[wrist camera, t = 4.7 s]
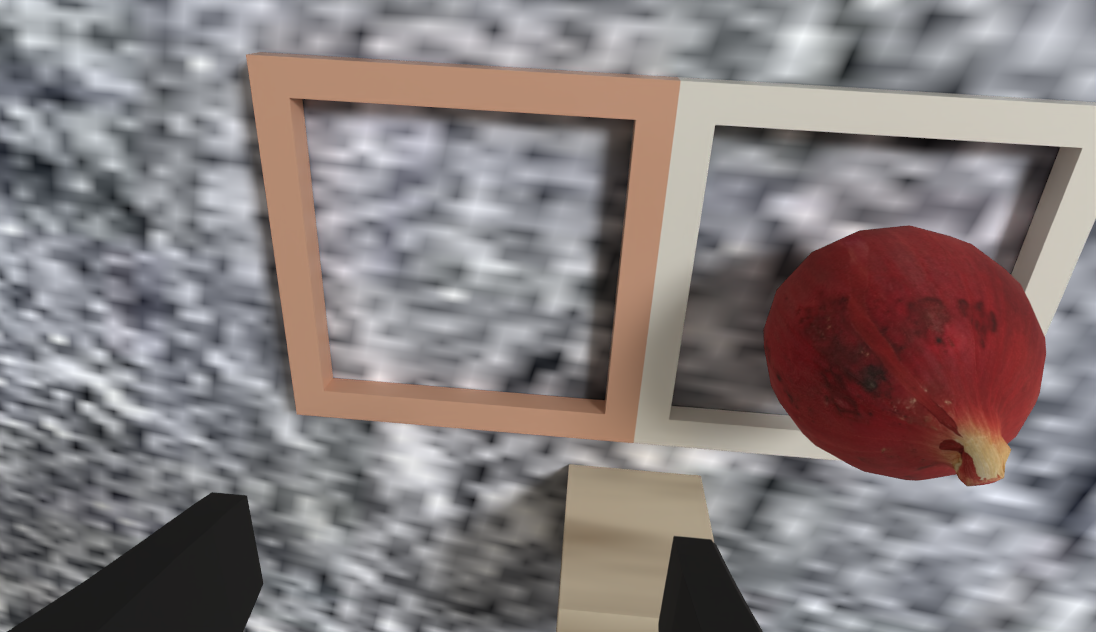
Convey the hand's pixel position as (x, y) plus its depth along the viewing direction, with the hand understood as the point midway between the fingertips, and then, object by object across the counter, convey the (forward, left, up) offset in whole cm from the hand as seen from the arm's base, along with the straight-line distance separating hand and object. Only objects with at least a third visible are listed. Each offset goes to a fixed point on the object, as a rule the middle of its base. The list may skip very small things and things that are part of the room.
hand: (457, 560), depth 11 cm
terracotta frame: (+1, +2, -10) cm, 10 cm away
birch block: (-8, -4, -10) cm, 14 cm away
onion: (+1, -9, -10) cm, 14 cm away
